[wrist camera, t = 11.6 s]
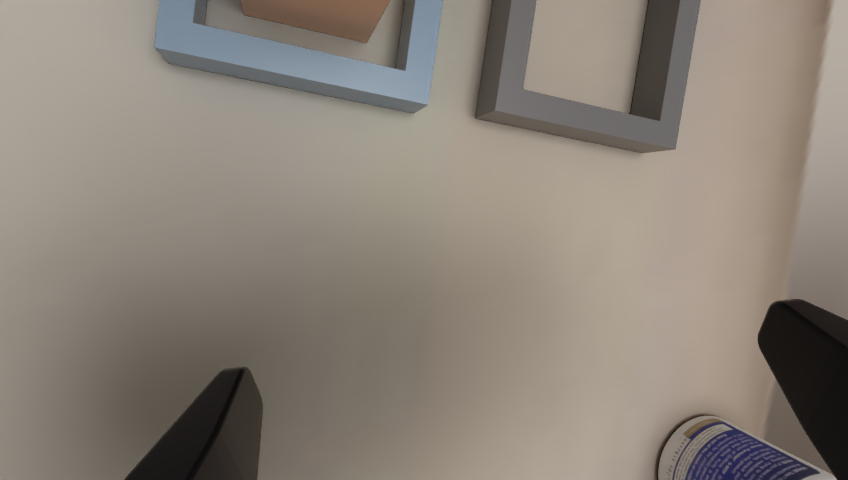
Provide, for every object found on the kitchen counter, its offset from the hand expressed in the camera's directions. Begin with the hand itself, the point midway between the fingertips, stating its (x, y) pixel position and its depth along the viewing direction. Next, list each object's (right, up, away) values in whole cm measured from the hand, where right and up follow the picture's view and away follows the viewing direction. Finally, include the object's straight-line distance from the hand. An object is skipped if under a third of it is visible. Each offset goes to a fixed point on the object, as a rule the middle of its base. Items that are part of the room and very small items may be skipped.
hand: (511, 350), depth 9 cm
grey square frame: (+5, +11, +13) cm, 18 cm away
